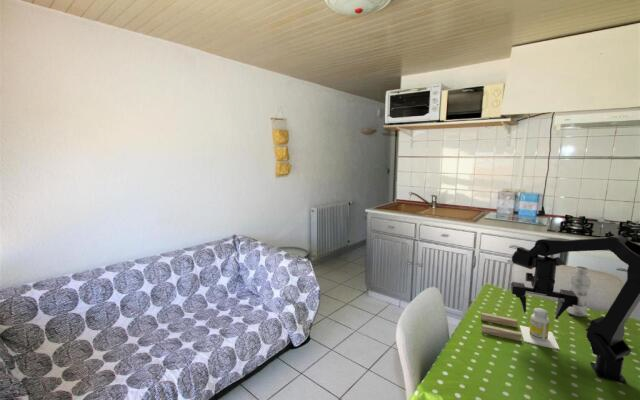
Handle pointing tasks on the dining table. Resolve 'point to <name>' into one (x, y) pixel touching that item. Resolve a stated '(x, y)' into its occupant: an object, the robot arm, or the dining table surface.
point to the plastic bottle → (580, 291)
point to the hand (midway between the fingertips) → (539, 315)
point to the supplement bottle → (539, 324)
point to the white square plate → (529, 339)
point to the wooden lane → (500, 331)
